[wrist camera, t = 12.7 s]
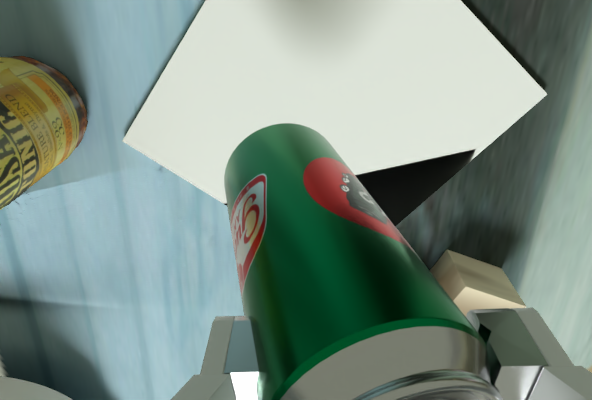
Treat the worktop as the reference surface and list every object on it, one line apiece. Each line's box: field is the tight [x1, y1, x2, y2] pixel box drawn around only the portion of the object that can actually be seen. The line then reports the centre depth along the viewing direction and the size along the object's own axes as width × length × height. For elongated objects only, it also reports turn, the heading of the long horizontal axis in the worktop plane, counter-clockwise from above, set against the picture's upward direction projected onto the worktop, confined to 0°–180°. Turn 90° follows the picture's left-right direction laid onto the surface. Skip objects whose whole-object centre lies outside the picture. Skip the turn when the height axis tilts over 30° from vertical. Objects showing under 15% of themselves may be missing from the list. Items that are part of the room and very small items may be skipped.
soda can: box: [224, 123, 503, 400], centre depth 12 cm, size 5×5×12 cm
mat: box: [122, 0, 547, 226], centre depth 23 cm, size 18×18×1 cm
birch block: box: [430, 250, 526, 316], centre depth 29 cm, size 5×5×4 cm
